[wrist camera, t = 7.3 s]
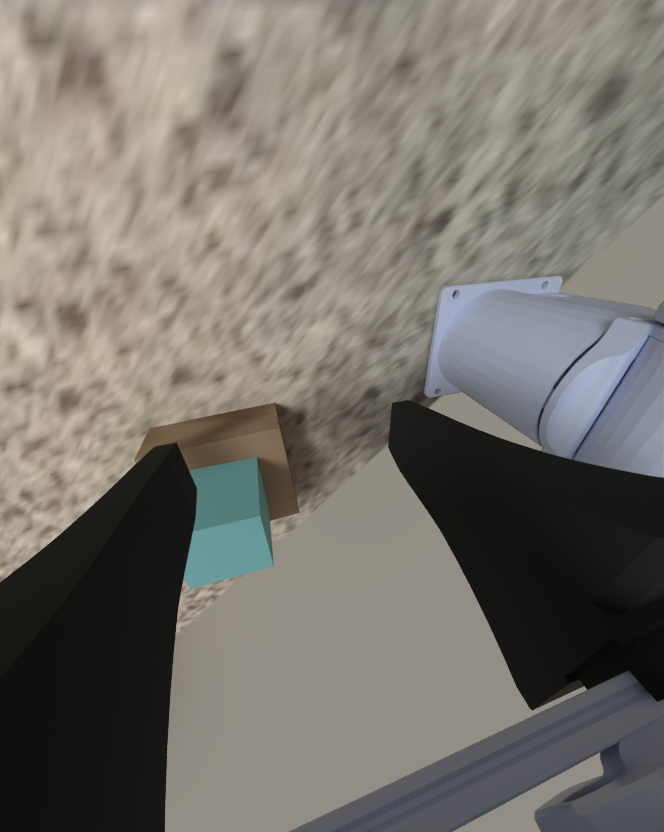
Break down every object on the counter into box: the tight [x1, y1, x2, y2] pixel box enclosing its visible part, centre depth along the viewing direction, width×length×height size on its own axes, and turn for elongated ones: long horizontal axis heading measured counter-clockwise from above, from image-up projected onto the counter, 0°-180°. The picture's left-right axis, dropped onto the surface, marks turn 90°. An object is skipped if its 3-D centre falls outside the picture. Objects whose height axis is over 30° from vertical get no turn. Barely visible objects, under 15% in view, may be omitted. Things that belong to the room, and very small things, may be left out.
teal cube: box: [184, 457, 274, 589], centre depth 16 cm, size 4×4×4 cm
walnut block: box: [134, 403, 300, 521], centre depth 19 cm, size 8×8×4 cm
